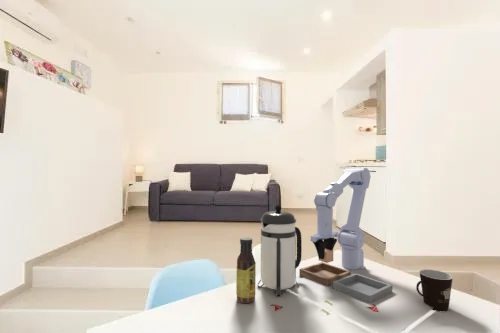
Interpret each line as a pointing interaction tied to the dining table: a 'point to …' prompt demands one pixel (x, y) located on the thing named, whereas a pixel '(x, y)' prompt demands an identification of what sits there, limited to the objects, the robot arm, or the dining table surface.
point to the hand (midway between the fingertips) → (324, 257)
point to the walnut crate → (324, 273)
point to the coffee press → (279, 250)
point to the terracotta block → (327, 256)
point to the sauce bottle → (245, 272)
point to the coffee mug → (435, 289)
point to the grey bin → (362, 287)
